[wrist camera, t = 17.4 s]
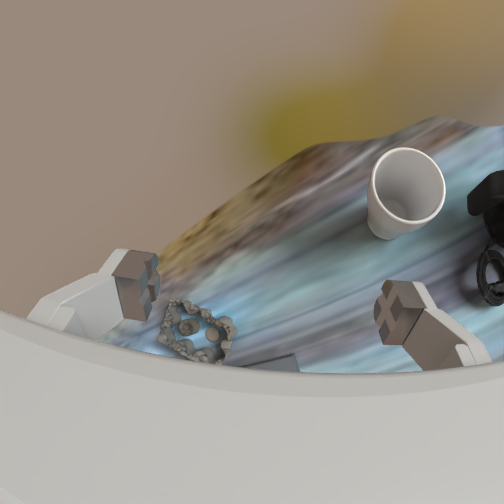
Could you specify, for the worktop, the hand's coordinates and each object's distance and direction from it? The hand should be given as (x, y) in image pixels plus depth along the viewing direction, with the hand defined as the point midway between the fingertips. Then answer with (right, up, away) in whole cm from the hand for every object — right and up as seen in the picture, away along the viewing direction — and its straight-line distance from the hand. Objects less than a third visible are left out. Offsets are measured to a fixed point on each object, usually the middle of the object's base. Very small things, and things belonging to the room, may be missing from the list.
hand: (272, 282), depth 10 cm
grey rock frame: (-8, -10, +32) cm, 34 cm away
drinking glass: (+17, +5, +25) cm, 30 cm away
